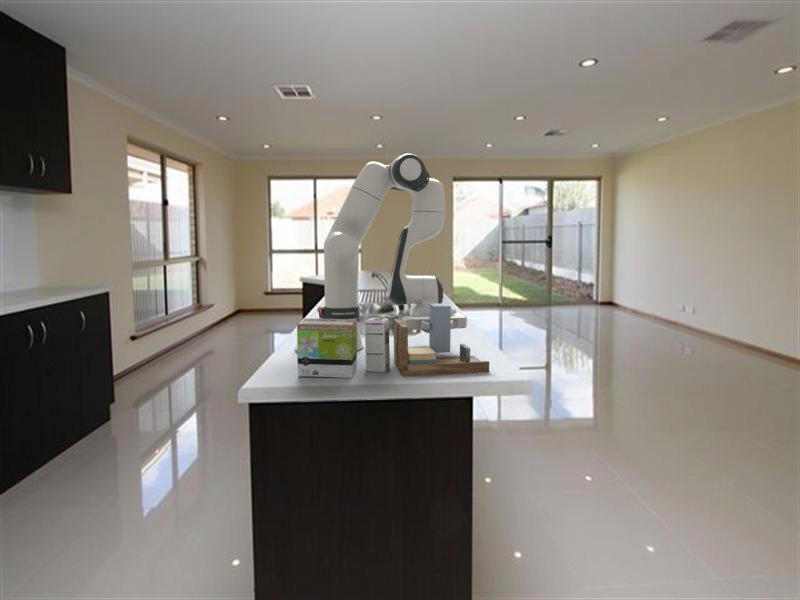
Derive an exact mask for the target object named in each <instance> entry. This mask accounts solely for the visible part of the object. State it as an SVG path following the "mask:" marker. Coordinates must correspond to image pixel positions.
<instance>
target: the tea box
mask: <svg viewBox="0 0 800 600" xmlns="http://www.w3.org/2000/svg"><path fill="white" fill-rule="evenodd" d="M296 325H297V326H296V329H297V330H296V332H297V333H296V335H297V336H296V340H297V341H296V345H297V351H296V355H297V358H296V359H297V361H296V362H297V377H298V378H301V377H316V378H317V377H322V378H337V379H338V378H340V379H341V378H342V379H352V378H353V376H354V374H355V373H356V370H357V367H358V365H357V363H358V362H357V361H358V360H357V359H358V350H357V320H352V319H319V318H306V317H305V319H303V320H302V321H300V322H299V323H298V324H296Z"/></svg>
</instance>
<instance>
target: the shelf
mask: <svg viewBox="0 0 800 600" xmlns="http://www.w3.org/2000/svg"><path fill="white" fill-rule="evenodd" d="M400 319H401V318H393V366H395V368H396V369H397V370H398V372H399V374H400V375H401V377H419V376H420V377H421V376H439V375H459V374H460V375H462V374H463V375H464V374H479V372H486V373H490V361H489V360H480V361H475V362H461V361H460V355H458V356H438V357H437V356H436V358H437V359H438V360H437V363H430V364H408V348H409V346H408V345H409V330H408V327H407V326H406V325H405V324H404V323H403V322H402V321H401V320H400ZM474 358H477V357H476V356H475V355H470V359H474Z"/></svg>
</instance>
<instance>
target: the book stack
mask: <svg viewBox="0 0 800 600" xmlns="http://www.w3.org/2000/svg"><path fill="white" fill-rule="evenodd" d="M436 357H437V353H435V352H434V351H433V350H432V349H431V348H429V347H413V348H412V347H410V348H409V347H408V364H430V363H437V360H438V359H437V358H436Z"/></svg>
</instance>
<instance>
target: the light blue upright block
mask: <svg viewBox="0 0 800 600" xmlns="http://www.w3.org/2000/svg"><path fill="white" fill-rule="evenodd" d="M451 309H452V307H451V305H449V304H447V303H443V302H442V304H430V323H432V329H429V333H428V334H429V336H428V337H429V342H428V343H429V345H428V348H431V349H432V350H433V351H434V352H435V353H436V354H440V353H441V354H442V353H443V354H444V353H451V330H452V329H451Z"/></svg>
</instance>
